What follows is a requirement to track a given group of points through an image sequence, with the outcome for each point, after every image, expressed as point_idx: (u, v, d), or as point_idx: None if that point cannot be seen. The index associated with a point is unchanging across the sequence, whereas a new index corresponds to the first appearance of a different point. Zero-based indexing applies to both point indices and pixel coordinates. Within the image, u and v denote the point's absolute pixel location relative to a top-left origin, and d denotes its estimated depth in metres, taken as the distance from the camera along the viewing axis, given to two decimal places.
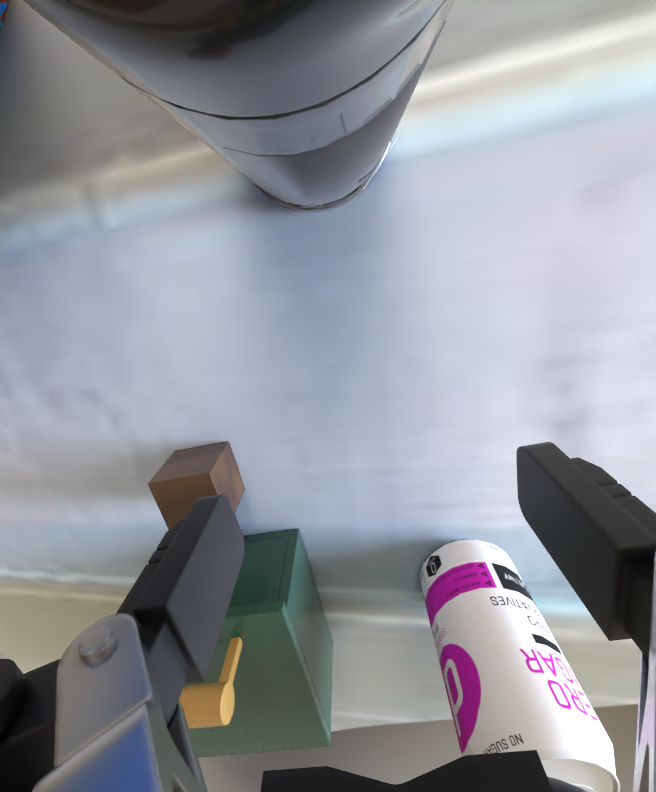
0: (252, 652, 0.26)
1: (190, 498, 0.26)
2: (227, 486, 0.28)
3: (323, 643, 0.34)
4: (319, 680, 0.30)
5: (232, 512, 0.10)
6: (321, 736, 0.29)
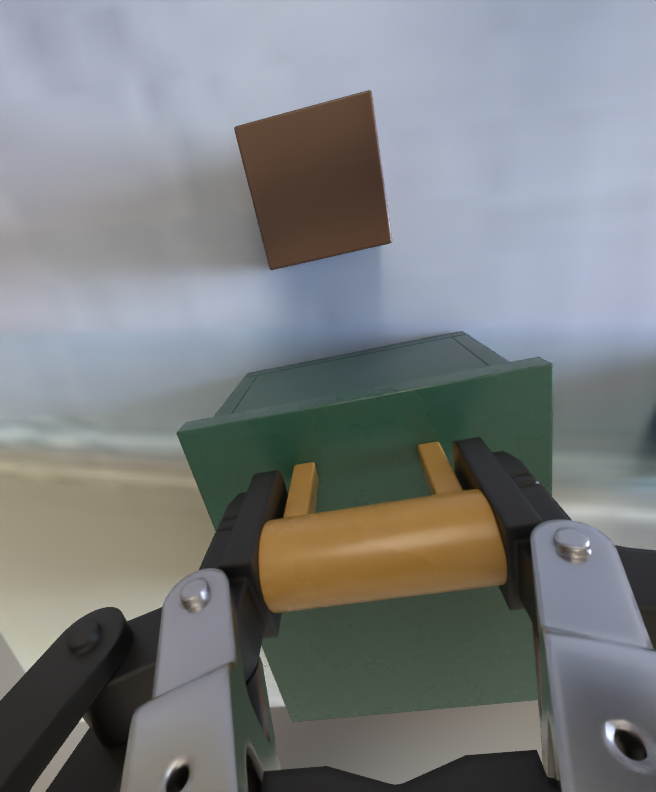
0: None
1: (320, 167, 0.12)
2: None
3: None
4: None
5: (285, 488, 0.11)
6: None
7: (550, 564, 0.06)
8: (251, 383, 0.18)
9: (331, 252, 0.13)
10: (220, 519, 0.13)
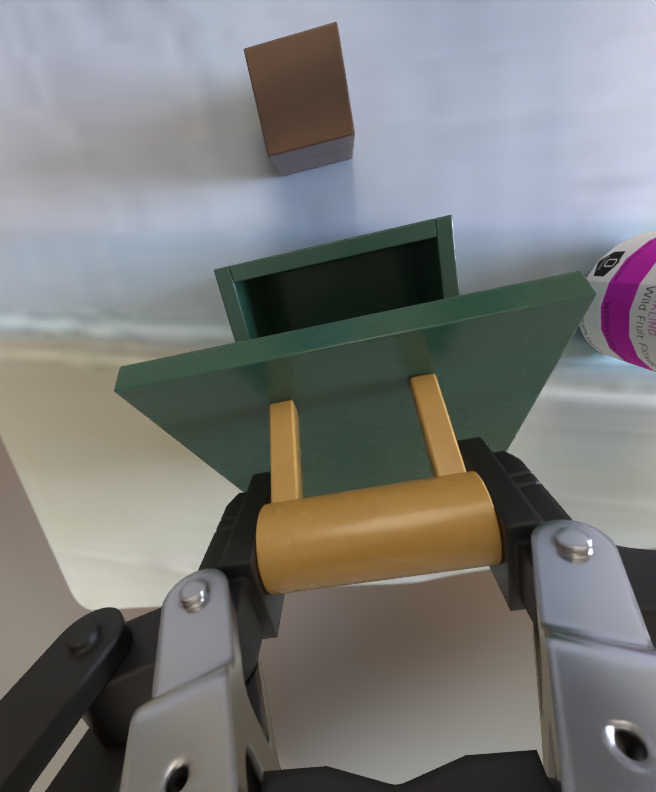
0: None
1: (303, 77, 0.18)
2: None
3: None
4: None
5: None
6: None
7: (551, 564, 0.06)
8: None
9: (311, 142, 0.19)
10: (195, 445, 0.12)
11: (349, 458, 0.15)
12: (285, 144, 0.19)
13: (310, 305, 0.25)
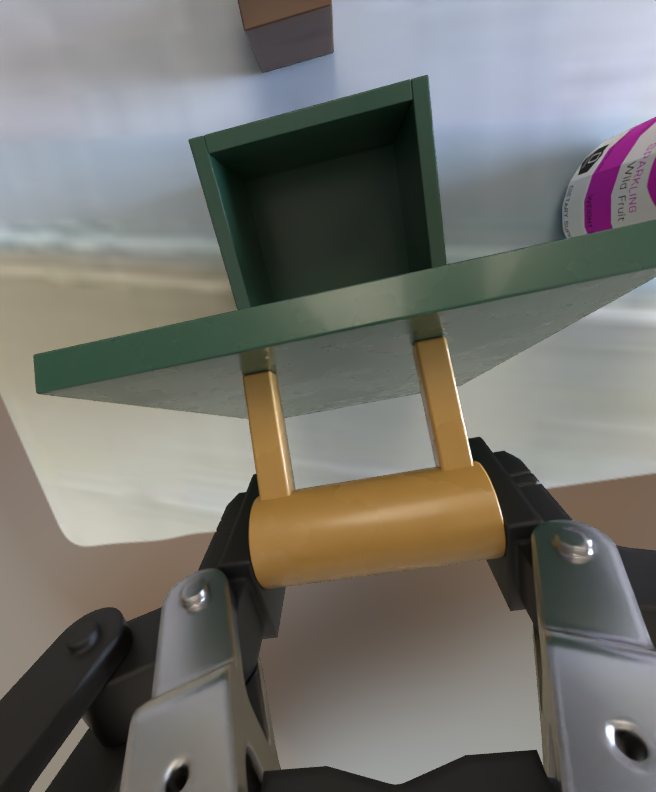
0: None
1: None
2: None
3: None
4: None
5: None
6: (459, 383, 0.20)
7: (551, 564, 0.06)
8: None
9: (288, 13, 0.19)
10: (158, 405, 0.11)
11: (334, 388, 0.13)
12: (261, 16, 0.19)
13: (293, 211, 0.25)
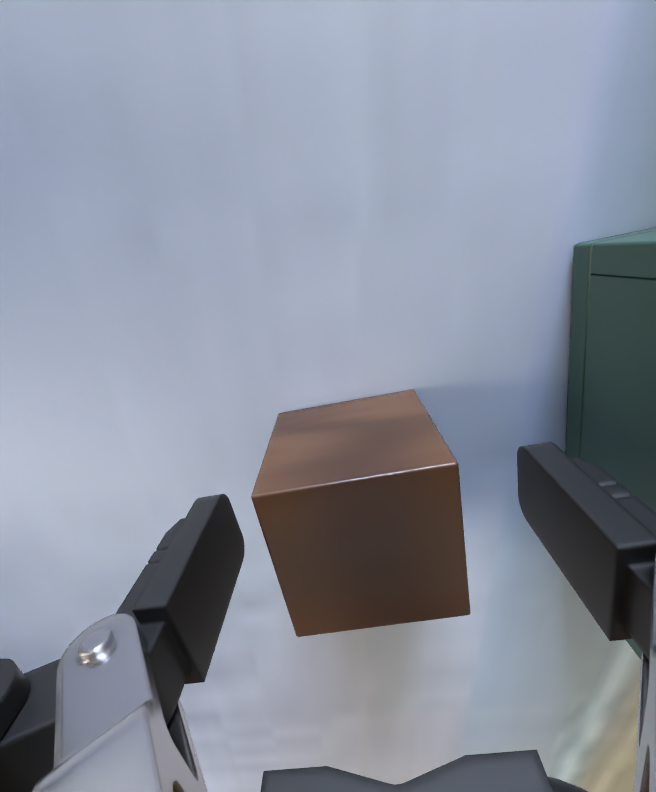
0: None
1: (343, 554, 0.09)
2: (349, 442, 0.10)
3: None
4: None
5: (232, 512, 0.10)
6: None
7: None
8: None
9: (459, 545, 0.09)
10: None
11: None
12: (455, 588, 0.09)
13: None
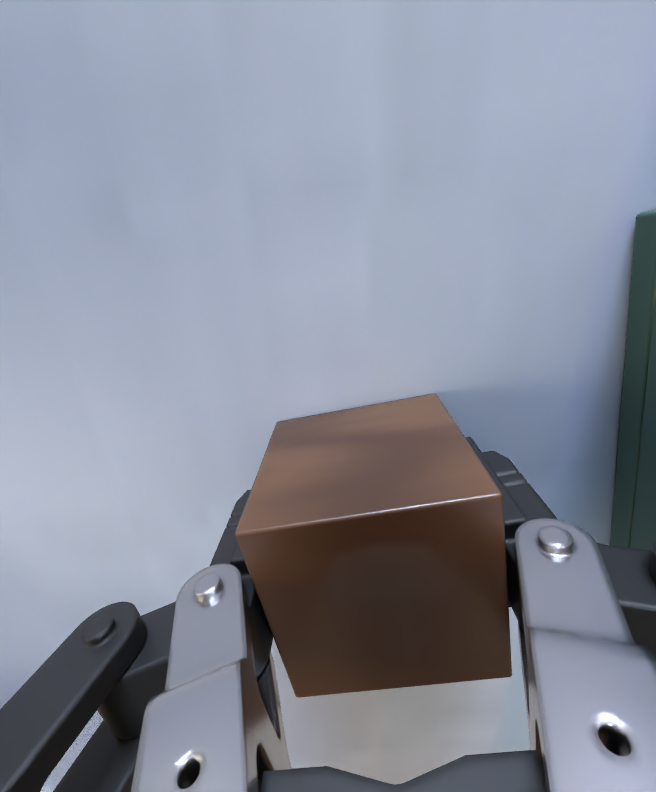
0: None
1: (352, 605, 0.07)
2: (359, 460, 0.08)
3: None
4: None
5: None
6: None
7: (535, 563, 0.06)
8: None
9: (501, 595, 0.07)
10: None
11: None
12: (494, 646, 0.07)
13: None
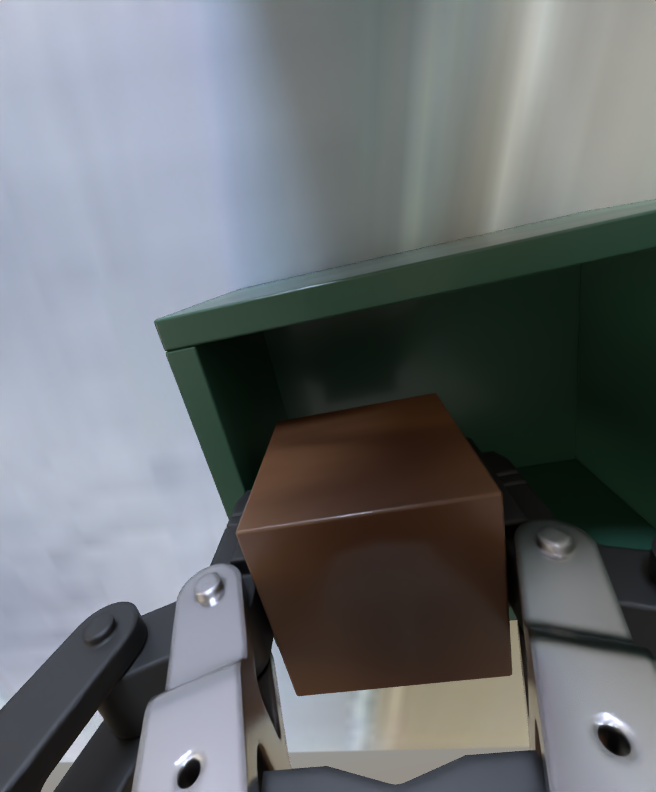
0: None
1: (353, 604, 0.07)
2: (360, 459, 0.08)
3: (523, 228, 0.12)
4: (556, 227, 0.09)
5: None
6: None
7: (534, 563, 0.06)
8: None
9: (501, 594, 0.07)
10: None
11: None
12: (494, 645, 0.07)
13: None
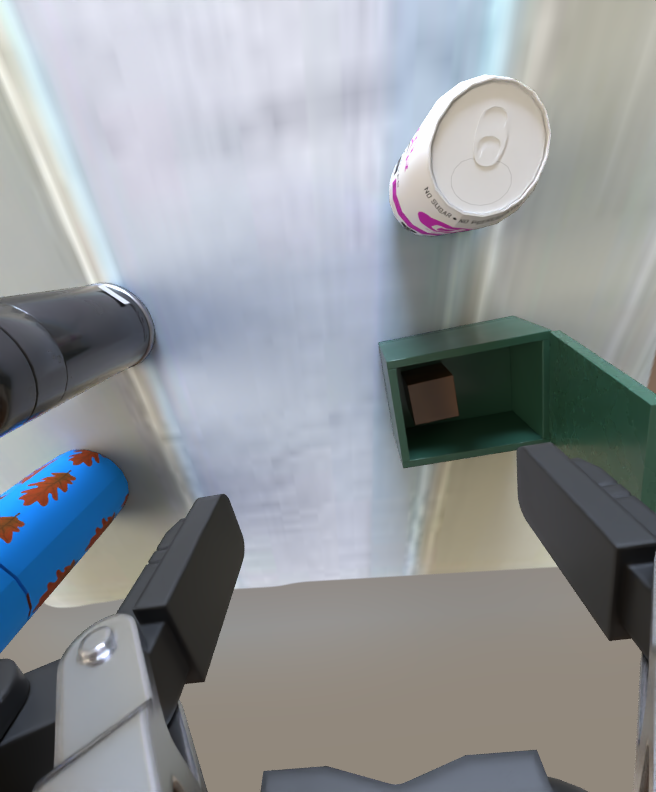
0: None
1: (427, 399, 0.38)
2: (426, 374, 0.38)
3: (486, 328, 0.37)
4: (491, 337, 0.34)
5: (232, 512, 0.10)
6: None
7: None
8: (394, 436, 0.43)
9: (455, 395, 0.37)
10: None
11: None
12: (454, 407, 0.38)
13: None
